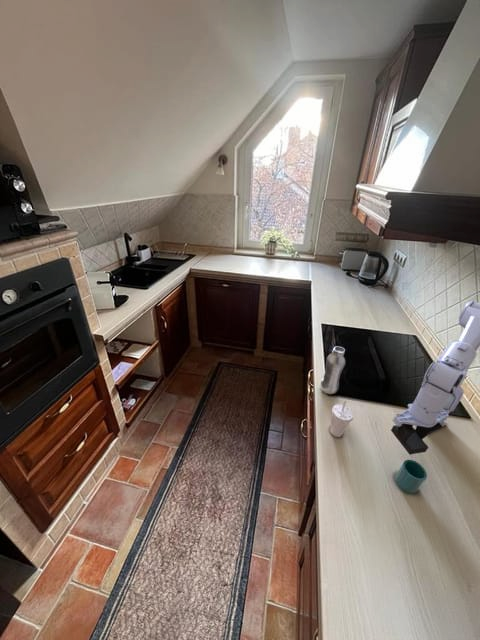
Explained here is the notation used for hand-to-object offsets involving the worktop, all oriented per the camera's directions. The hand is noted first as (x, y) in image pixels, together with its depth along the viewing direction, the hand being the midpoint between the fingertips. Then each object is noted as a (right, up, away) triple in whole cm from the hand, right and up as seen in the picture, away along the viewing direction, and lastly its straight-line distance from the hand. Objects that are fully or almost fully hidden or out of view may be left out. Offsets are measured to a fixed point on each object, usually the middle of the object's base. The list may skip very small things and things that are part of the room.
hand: (409, 437), depth 71 cm
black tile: (0, -1, +1) cm, 1 cm away
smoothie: (-16, -4, +13) cm, 21 cm away
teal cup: (-2, -12, -1) cm, 12 cm away
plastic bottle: (-13, +5, +29) cm, 32 cm away
